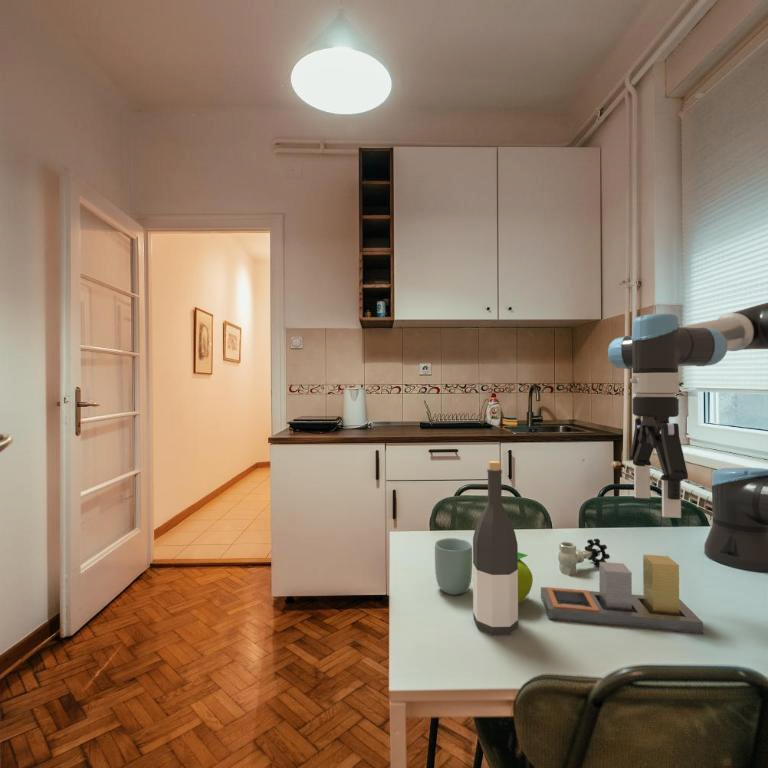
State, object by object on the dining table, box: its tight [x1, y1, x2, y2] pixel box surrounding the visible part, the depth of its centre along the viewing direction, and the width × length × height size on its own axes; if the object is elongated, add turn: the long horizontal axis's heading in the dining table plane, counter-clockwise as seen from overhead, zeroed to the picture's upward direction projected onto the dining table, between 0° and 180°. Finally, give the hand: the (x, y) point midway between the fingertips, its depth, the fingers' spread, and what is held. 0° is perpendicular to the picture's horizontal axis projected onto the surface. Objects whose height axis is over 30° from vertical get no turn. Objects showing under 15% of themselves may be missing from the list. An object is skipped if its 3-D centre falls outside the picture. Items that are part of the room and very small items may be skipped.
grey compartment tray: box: [540, 586, 704, 634], centre depth 84 cm, size 26×9×2 cm, turn 79°
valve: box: [557, 538, 611, 576], centre depth 105 cm, size 7×7×12 cm
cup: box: [434, 537, 473, 596], centre depth 94 cm, size 8×8×10 cm
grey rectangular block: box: [598, 561, 633, 612], centre depth 84 cm, size 4×4×9 cm
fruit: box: [518, 552, 533, 605], centre depth 89 cm, size 9×9×10 cm
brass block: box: [642, 554, 680, 616], centre depth 82 cm, size 4×4×11 cm
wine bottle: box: [472, 460, 519, 636], centre depth 80 cm, size 8×8×30 cm
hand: (655, 506), depth 83 cm, fingers open, 13 cm apart
